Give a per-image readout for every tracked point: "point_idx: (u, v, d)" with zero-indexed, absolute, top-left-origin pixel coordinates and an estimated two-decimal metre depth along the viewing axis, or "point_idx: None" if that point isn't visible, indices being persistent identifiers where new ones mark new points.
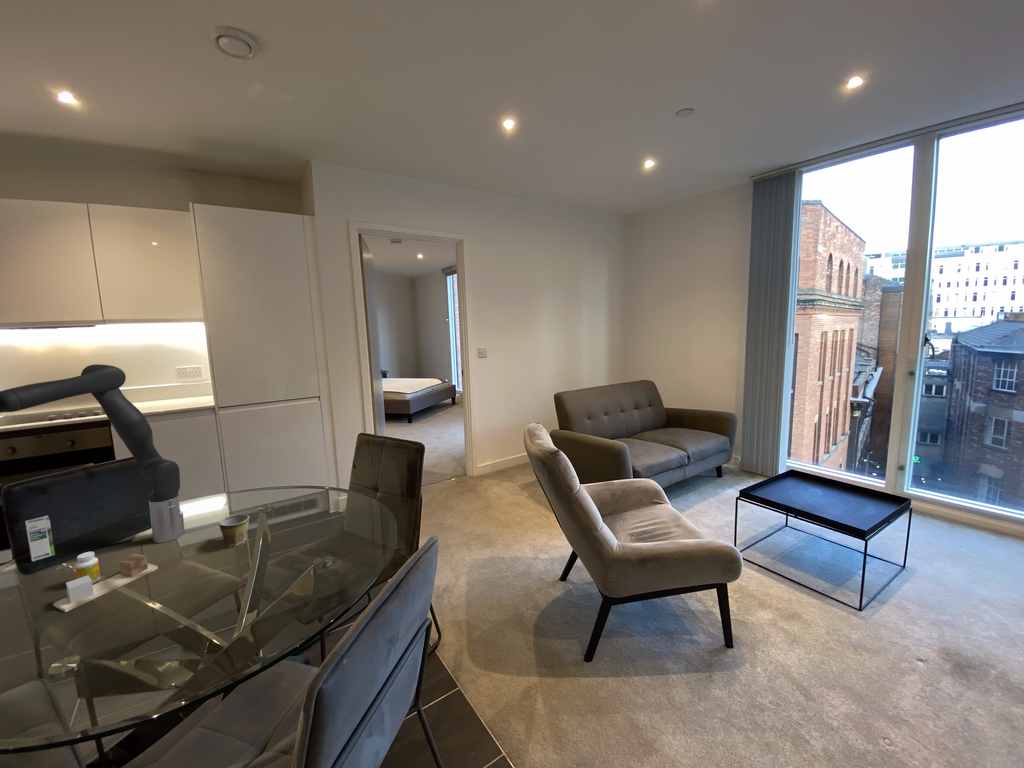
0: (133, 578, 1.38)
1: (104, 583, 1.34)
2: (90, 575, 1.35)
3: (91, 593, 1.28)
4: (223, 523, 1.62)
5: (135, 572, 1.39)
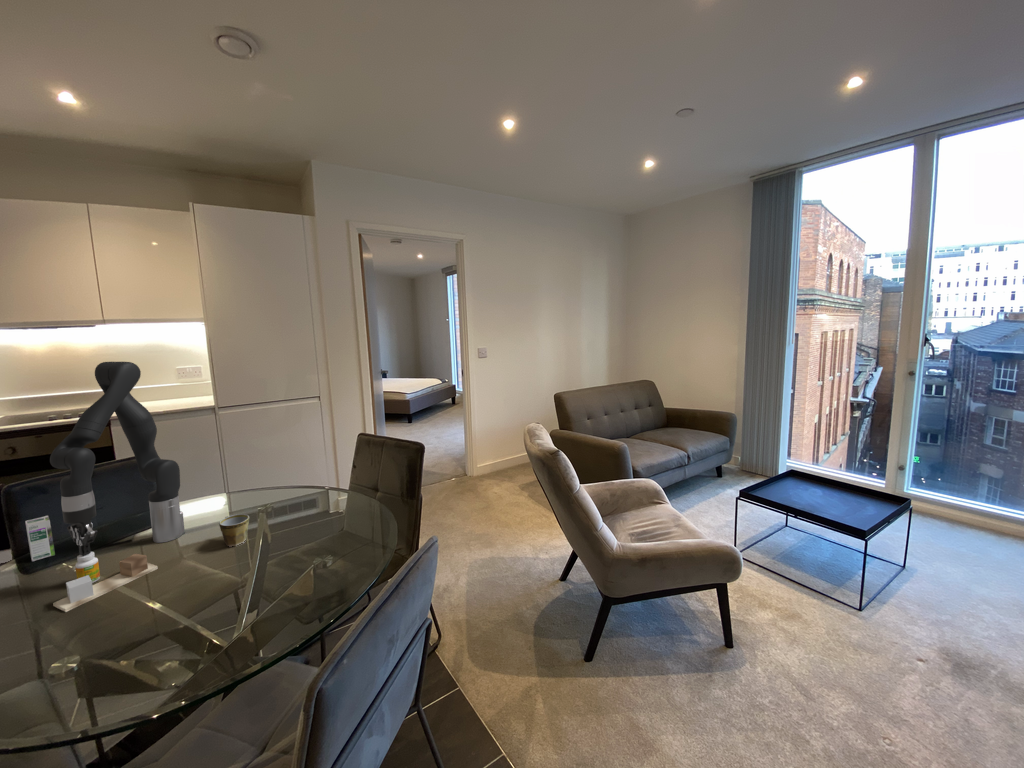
0: (133, 578, 1.38)
1: (104, 583, 1.34)
2: (90, 575, 1.35)
3: (91, 593, 1.28)
4: (223, 523, 1.62)
5: (135, 572, 1.39)
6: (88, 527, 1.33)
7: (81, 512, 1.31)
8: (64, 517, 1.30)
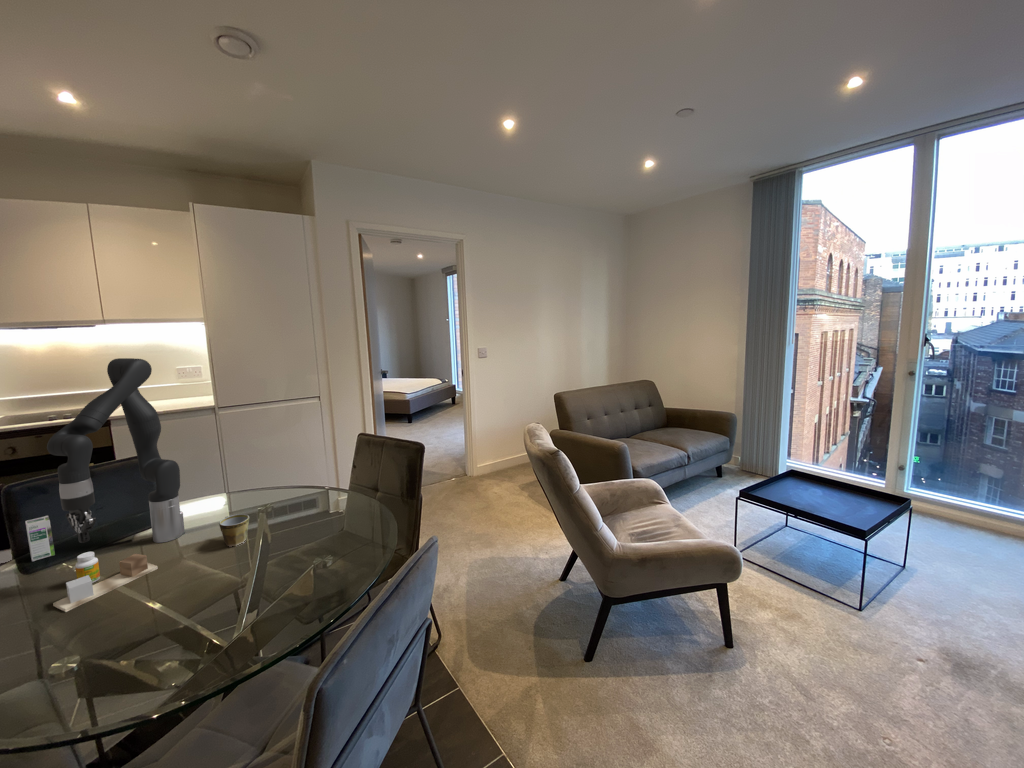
0: (133, 578, 1.38)
1: (104, 583, 1.34)
2: (90, 575, 1.35)
3: (91, 593, 1.28)
4: (223, 523, 1.62)
5: (135, 572, 1.39)
6: (87, 514, 1.32)
7: (79, 499, 1.30)
8: (62, 504, 1.29)
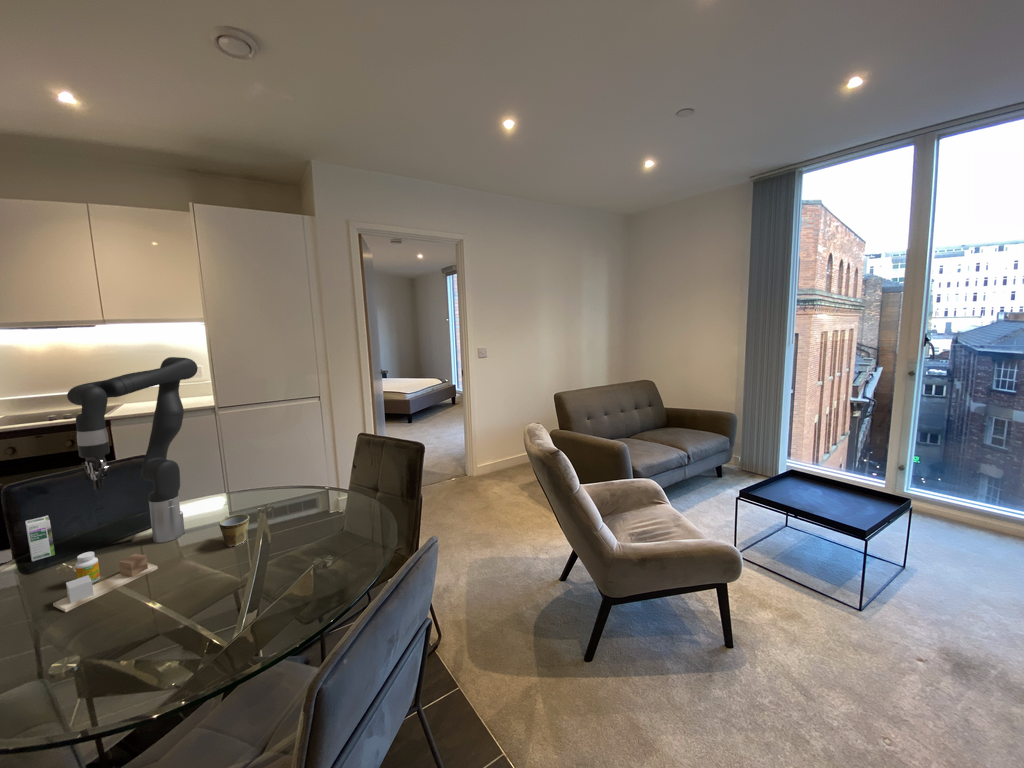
0: (133, 578, 1.38)
1: (104, 583, 1.34)
2: (90, 575, 1.35)
3: (91, 593, 1.28)
4: (223, 523, 1.62)
5: (135, 572, 1.39)
6: (102, 462, 1.39)
7: (95, 446, 1.38)
8: (79, 451, 1.37)
